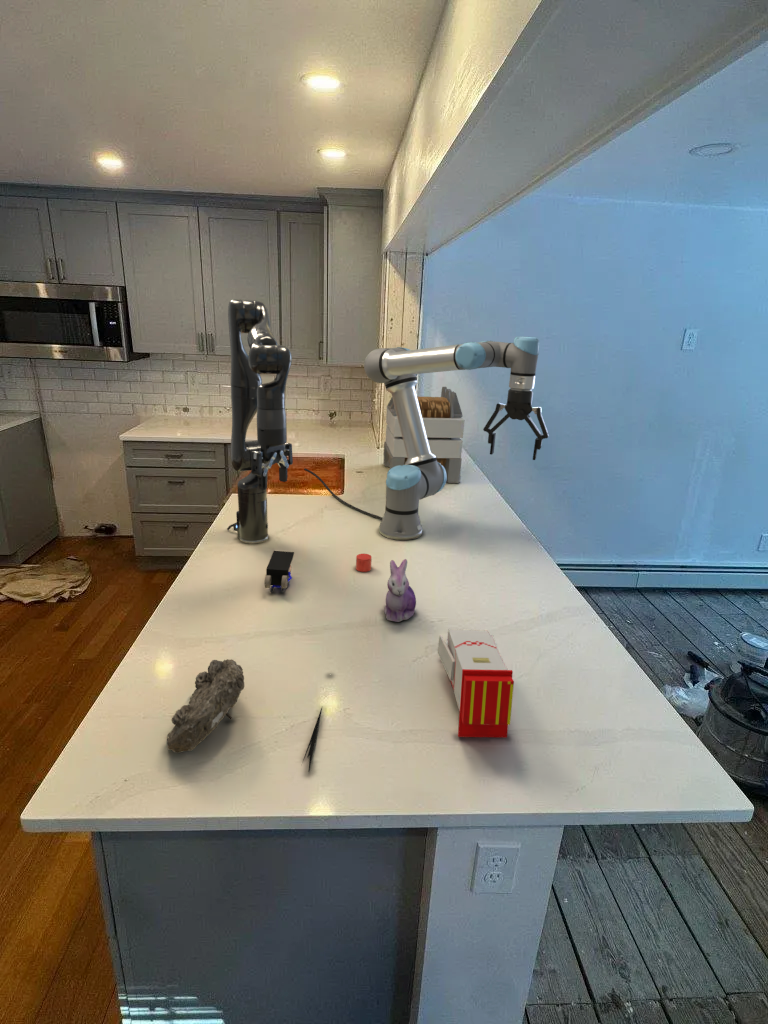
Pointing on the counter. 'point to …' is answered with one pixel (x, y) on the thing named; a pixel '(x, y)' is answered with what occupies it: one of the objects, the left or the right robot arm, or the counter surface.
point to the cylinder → (363, 562)
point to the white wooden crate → (430, 433)
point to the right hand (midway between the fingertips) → (512, 456)
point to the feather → (313, 740)
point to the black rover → (279, 570)
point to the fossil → (206, 705)
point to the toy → (478, 682)
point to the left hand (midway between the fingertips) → (273, 485)
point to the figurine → (399, 594)
